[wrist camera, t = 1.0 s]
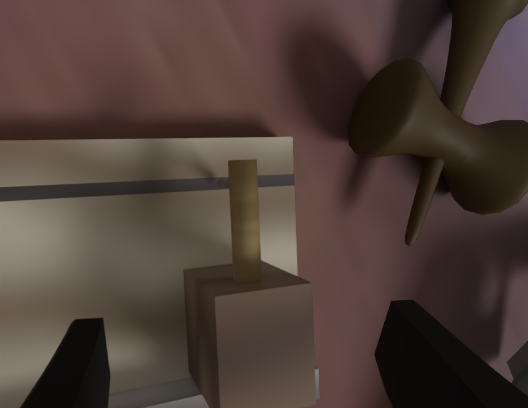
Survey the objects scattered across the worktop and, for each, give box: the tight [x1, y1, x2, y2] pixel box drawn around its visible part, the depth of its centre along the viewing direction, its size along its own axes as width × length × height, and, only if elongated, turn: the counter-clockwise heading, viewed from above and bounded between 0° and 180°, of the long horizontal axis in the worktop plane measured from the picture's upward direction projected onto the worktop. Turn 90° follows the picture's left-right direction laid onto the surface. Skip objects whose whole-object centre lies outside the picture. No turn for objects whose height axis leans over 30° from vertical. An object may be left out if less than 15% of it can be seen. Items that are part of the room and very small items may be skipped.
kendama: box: [349, 0, 528, 246], centre depth 26 cm, size 6×10×20 cm
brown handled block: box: [183, 159, 316, 408], centre depth 20 cm, size 10×4×6 cm, turn 3°
